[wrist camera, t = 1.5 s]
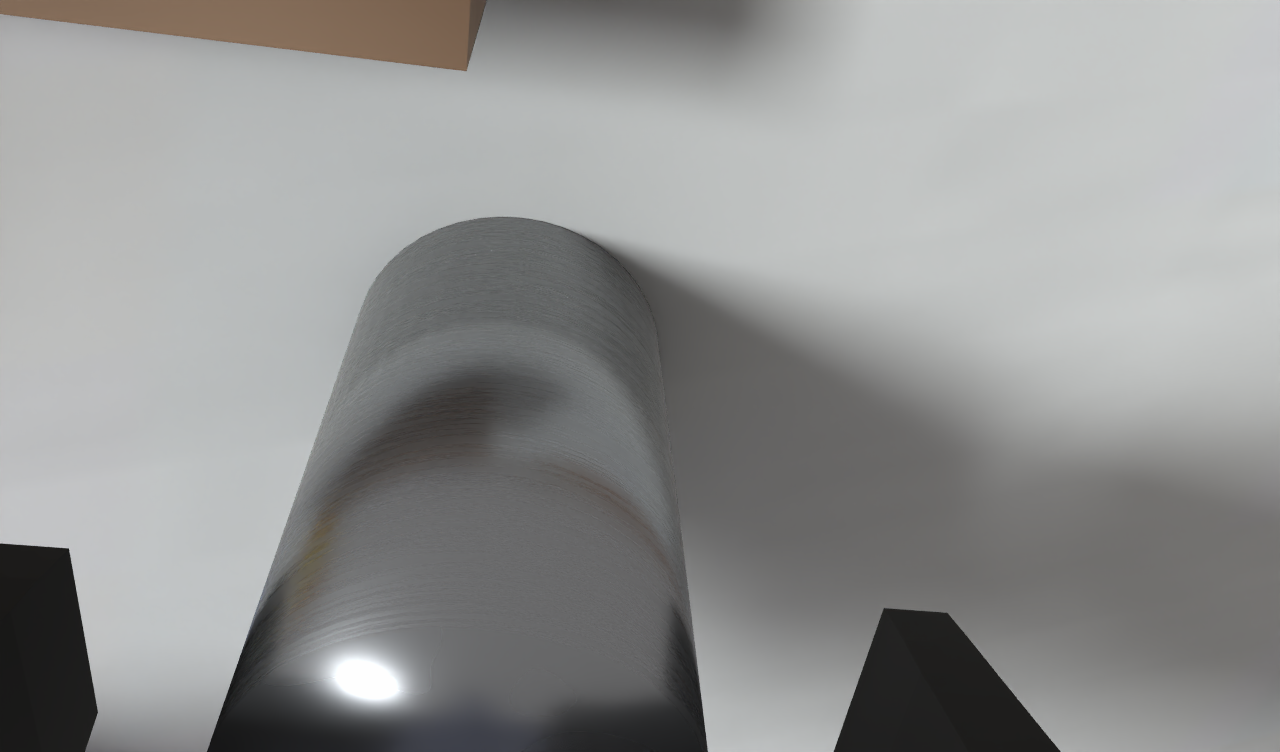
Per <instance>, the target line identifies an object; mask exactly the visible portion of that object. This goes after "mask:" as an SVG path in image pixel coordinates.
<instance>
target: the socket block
mask: <svg viewBox="0 0 1280 752" xmlns="http://www.w3.org/2000/svg"><path fill="white" fill-rule="evenodd" d="M486 1H487V0H0V14H4V15H13V16H21V17H29V18H37V19H45V20H53V21H62V22H70V23H78V24H86V25H94V26H102V27H111V28H119V29H127V30H135V31H143V32H151V33H160V34H168V35H176V36H184V37H192V38H200V39H209V40H217V41H225V42H233V43H241V44H249V45H258V46H266V47H274V48H282V49H290V50H298V51H307V52H315V53H323V54H331V55H339V56H347V57H356V58H364V59H372V60H380V61H388V62H396V63H405V64H413V65H421V66H429V67H437V68H445V69H453V70H462V71H467V67H468V64H469V60H470V57H471V53H472V50H473V46H474V43H475V39H476V36H477V32H478V29H479V25H480V22H481V18H482V15H483V11H484V8H485V4H486Z"/></svg>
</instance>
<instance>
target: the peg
mask: <svg viewBox="0 0 1280 752" xmlns="http://www.w3.org/2000/svg"><path fill="white" fill-rule="evenodd" d="M207 752H708V750H707V741H706V733H705V725H704V716H703V708H702V700H701V692H700V683H699V675H698V667H697V659H696V650H695V642H694V634H693V626H692V617H691V609H690V601H689V592H688V584H687V576H686V568H685V559H684V551H683V543H682V535H681V526H680V518H679V510H678V502H677V493H676V485H675V477H674V469H673V460H672V452H671V444H670V435H669V427H668V419H667V411H666V402H665V394H664V386H663V378H662V369H661V361H660V353H659V345H658V336H657V331H656V327H655V322H654V318H653V315H652V313H651V310H650V307H649V305H648V302H647V300H646V299H645V297H644V295H643V293H642V291H641V289H640V288H639V286H638V285H637V283H636V282H635V281H634V279H633V278H632V277H631V275H630V274H629V273H628V272H627V271H626V270H625V269H624V268H623V266H622V265H621V264H620V263H619V262H618V261H617V260H616V259H615V258H613V257H612V256H611V255H610V254H608V253H607V252H606V251H604V250H603V249H602V248H601V247H599V246H598V245H596V244H594V243H593V242H591V241H589V240H588V239H586V238H584V237H582V236H581V235H578V234H576V233H574V232H571V231H569V230H567V229H564V228H562V227H559V226H555V225H552V224H549V223H545V222H542V221H536V220H530V219H524V218H510V217H493V218H479V219H474V220H469V221H464V222H459V223H455V224H452V225H449V226H446V227H443V228H440V229H438V230H436V231H434V232H432V233H429V234H427V235H425V236H423V237H421V238H419V239H418V240H416V241H415V242H413V243H412V244H410V245H409V246H407V247H406V248H404V249H403V250H402V251H401V252H400V253H399V254H398V255H396V256H395V257H394V258H393V259H392V260H391V261H390V262H389V263H388V264H387V265H386V266H385V268H384V269H383V270H382V271H381V272H380V274H379V275H378V276H377V278H376V279H375V281H374V283H373V284H372V286H371V288H370V289H369V291H368V293H367V296H366V298H365V300H364V303H363V305H362V308H361V310H360V313H359V316H358V319H357V322H356V325H355V328H354V331H353V333H352V336H351V339H350V342H349V345H348V348H347V351H346V354H345V356H344V359H343V362H342V365H341V368H340V371H339V374H338V377H337V379H336V382H335V385H334V388H333V391H332V394H331V397H330V400H329V402H328V405H327V408H326V411H325V414H324V417H323V420H322V423H321V425H320V428H319V431H318V434H317V437H316V440H315V443H314V446H313V448H312V451H311V454H310V457H309V460H308V463H307V466H306V469H305V471H304V474H303V477H302V480H301V483H300V486H299V489H298V492H297V494H296V497H295V500H294V503H293V506H292V509H291V512H290V515H289V517H288V520H287V523H286V526H285V529H284V532H283V535H282V538H281V540H280V543H279V546H278V549H277V552H276V555H275V558H274V561H273V563H272V566H271V569H270V572H269V575H268V578H267V581H266V584H265V586H264V589H263V592H262V595H261V598H260V601H259V604H258V607H257V609H256V612H255V615H254V618H253V621H252V624H251V627H250V630H249V632H248V635H247V638H246V641H245V644H244V647H243V650H242V653H241V655H240V658H239V661H238V664H237V667H236V670H235V673H234V676H233V678H232V681H231V684H230V687H229V690H228V693H227V696H226V699H225V701H224V704H223V707H222V710H221V713H220V716H219V719H218V722H217V724H216V727H215V730H214V733H213V736H212V739H211V742H210V745H209V747H208V750H207Z"/></svg>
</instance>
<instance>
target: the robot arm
mask: <svg viewBox="0 0 1280 752" xmlns="http://www.w3.org/2000/svg"><path fill="white" fill-rule="evenodd" d="M97 714H98V710H97V705H96V699H95V693H94V688H93V682H92V677H91V671H90V665H89V660H88V654H87V648H86V643H85V637H84V631H83V626H82V620H81V614H80V609H79V603H78V597H77V592H76V586H75V581H74V575H73V569H72V564H71V558H70V552H69V549H68V548H54V547H41V546H27V545H13V544H0V752H85V749H86V746H87V743H88V740H89V737H90V734H91V731H92V729H93V726H94V723H95V720H96V717H97ZM834 752H1061V751H1060V750H1059V749H1058V748H1057V747H1056V745H1055V744H1054V743H1053V742H1052V741H1051V739H1050V738H1049V737H1048V736H1047V735H1046V733H1045V732H1044V731H1043V730H1042V729H1041V727H1040V726H1039V725H1038V724H1037V722H1036V721H1035V720H1034V719H1033V717H1032V716H1031V715H1030V714H1029V713H1028V711H1027V710H1026V709H1025V708H1024V706H1023V705H1022V704H1021V703H1020V702H1019V700H1018V699H1017V698H1016V697H1015V695H1014V694H1013V693H1012V692H1011V690H1010V689H1009V688H1008V687H1007V686H1006V684H1005V683H1004V682H1003V681H1002V679H1001V678H1000V677H999V676H998V674H997V673H996V672H995V671H994V669H993V668H992V667H991V666H990V664H989V663H988V662H987V661H986V659H985V658H984V657H983V656H982V655H981V653H980V652H979V651H978V650H977V648H976V647H975V646H974V645H973V643H972V642H971V641H970V640H969V638H968V637H967V636H966V635H965V634H964V632H963V631H962V630H961V629H960V628H959V626H958V625H957V624H956V623H955V622H954V620H953V619H952V618H951V617H950V616H949V614H948V613H941V612H928V611H914V610H900V609H887V608H884V610H883V612H882V615H881V618H880V621H879V624H878V627H877V630H876V632H875V635H874V638H873V641H872V644H871V647H870V650H869V652H868V655H867V658H866V661H865V664H864V667H863V670H862V672H861V675H860V678H859V681H858V684H857V687H856V690H855V692H854V695H853V698H852V701H851V704H850V707H849V710H848V712H847V715H846V718H845V721H844V724H843V727H842V730H841V732H840V735H839V738H838V741H837V744H836V747H835V750H834Z"/></svg>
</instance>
